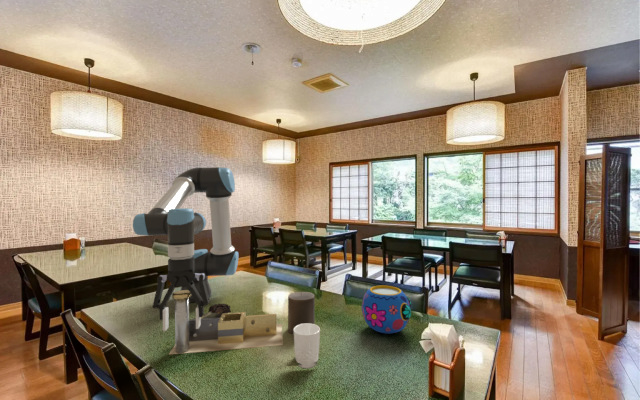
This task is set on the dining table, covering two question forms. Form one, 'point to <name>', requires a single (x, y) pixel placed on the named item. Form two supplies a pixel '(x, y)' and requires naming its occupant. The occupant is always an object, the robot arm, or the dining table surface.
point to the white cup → (306, 344)
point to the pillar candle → (300, 309)
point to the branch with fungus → (216, 311)
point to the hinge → (233, 327)
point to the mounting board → (247, 343)
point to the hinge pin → (181, 320)
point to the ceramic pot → (386, 309)
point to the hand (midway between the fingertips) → (182, 328)
